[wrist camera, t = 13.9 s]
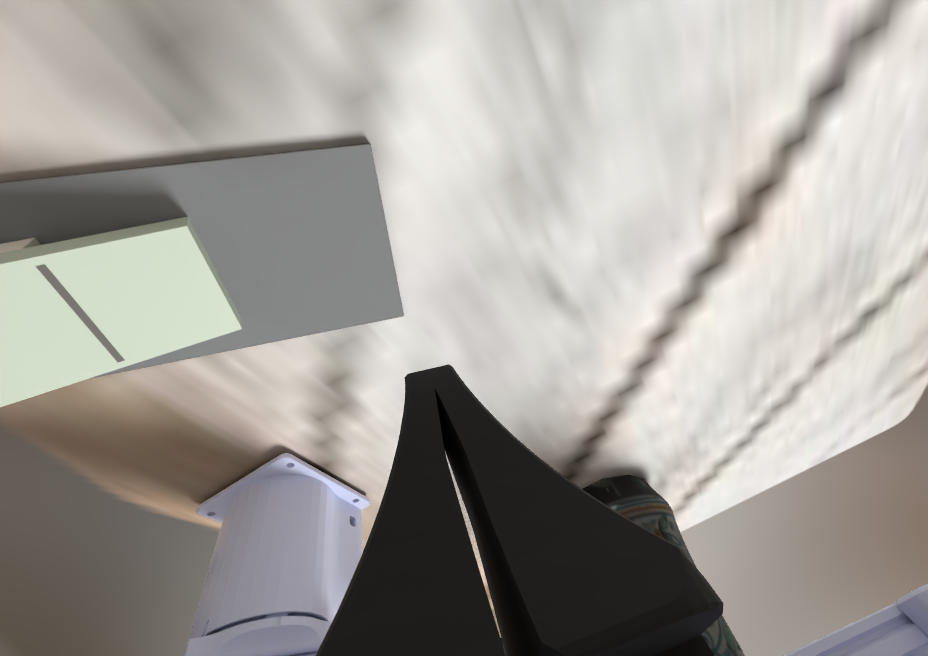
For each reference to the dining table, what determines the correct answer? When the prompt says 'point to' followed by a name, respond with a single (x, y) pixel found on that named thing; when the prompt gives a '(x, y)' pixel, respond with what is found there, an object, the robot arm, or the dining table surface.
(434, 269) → the dining table surface
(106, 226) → the mat
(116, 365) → the sage domino
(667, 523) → the beer stein
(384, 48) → the dining table surface
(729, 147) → the dining table surface
